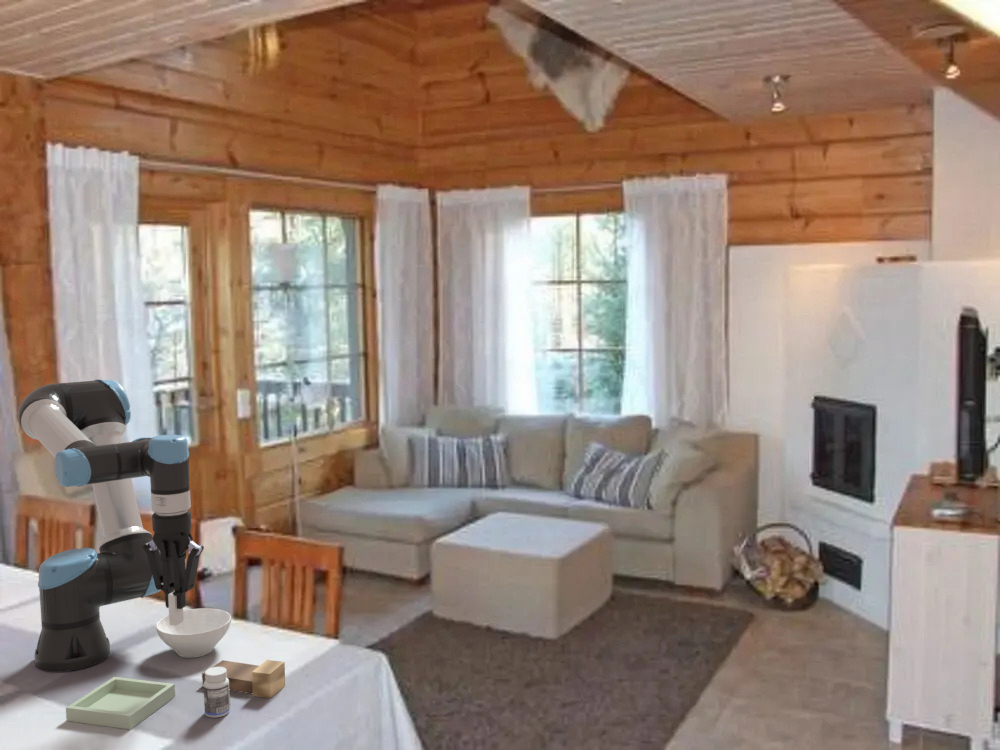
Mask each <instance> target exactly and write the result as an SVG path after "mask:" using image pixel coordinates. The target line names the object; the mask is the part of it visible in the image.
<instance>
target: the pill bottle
mask: <svg viewBox="0 0 1000 750" xmlns="http://www.w3.org/2000/svg"><path fill="white" fill-rule="evenodd" d="M204 672H205V680H206V681H205V682H204V686H203V700H204V702H203V703H204V714H205V716H206V717H207V718H213V719H214V718H215V719H216V718H221V717H224V716H227V715H228V714H229V713H230V711H231V695H230V692H231V690H229V679H228V678H227V670H226V668H224V667H213V666H212V667H210V668H207V669H206V670H205V671H204Z"/></svg>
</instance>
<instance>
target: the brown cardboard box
mask: <svg viewBox="0 0 1000 750" xmlns="http://www.w3.org/2000/svg"><path fill="white" fill-rule="evenodd" d="M259 666H260V665H256V664H252V663H251V664H250V663H242V662H237V661H229V660H223V659H222V660H221V661H219V662H218V663H216V664H215V665H213V666H212V667H224V668H226V670H227V678H228V679H229V689H230V691H232V690H236V691H235V692H238V691H242V692H241V693H244V692H247V693H246V694H251V693H253V687H252V671H254V670H255V669H256V668H257V667H259ZM201 675H202V676H201V677H202V678H201V679H202V686H203V685H204V682H205V681H206V680H205V671H204V672H202V674H201Z"/></svg>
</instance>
